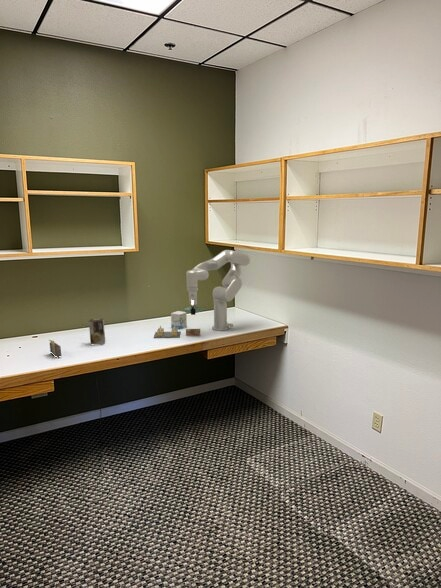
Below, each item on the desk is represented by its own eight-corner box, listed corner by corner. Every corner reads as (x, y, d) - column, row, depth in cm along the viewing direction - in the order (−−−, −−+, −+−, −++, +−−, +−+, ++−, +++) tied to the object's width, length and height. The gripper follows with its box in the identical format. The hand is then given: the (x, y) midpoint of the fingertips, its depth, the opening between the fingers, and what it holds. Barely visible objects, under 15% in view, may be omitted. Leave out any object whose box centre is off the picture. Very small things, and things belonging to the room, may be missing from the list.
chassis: (180, 332, 305) (180, 324, 304) (179, 337, 294) (179, 328, 292) (155, 333, 305) (155, 324, 303) (153, 338, 293) (153, 329, 292)
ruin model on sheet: (49, 354, 263) (48, 339, 261) (54, 353, 265) (53, 338, 263) (56, 359, 254) (55, 344, 252) (61, 358, 256) (60, 343, 254)
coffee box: (105, 341, 286) (104, 318, 283) (104, 344, 280) (103, 320, 277) (91, 342, 285) (89, 319, 282) (90, 345, 279) (88, 321, 276)
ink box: (179, 329, 313) (179, 314, 311) (171, 327, 318) (170, 312, 316) (187, 327, 320) (186, 312, 317) (178, 325, 325) (178, 310, 322)
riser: (200, 334, 302) (200, 328, 301) (200, 335, 298) (200, 330, 297) (186, 334, 302) (186, 328, 301) (185, 336, 298) (185, 330, 297)
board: (201, 309, 300) (201, 307, 300) (201, 312, 293) (201, 309, 293) (184, 310, 300) (184, 307, 299) (184, 312, 293) (184, 310, 293)
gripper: (197, 290, 285) (198, 316, 289) (197, 285, 302) (198, 309, 306) (186, 291, 284) (187, 316, 288) (187, 286, 301) (188, 310, 305)
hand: (193, 312), depth 297 cm, fingers closed on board, 7 cm apart
